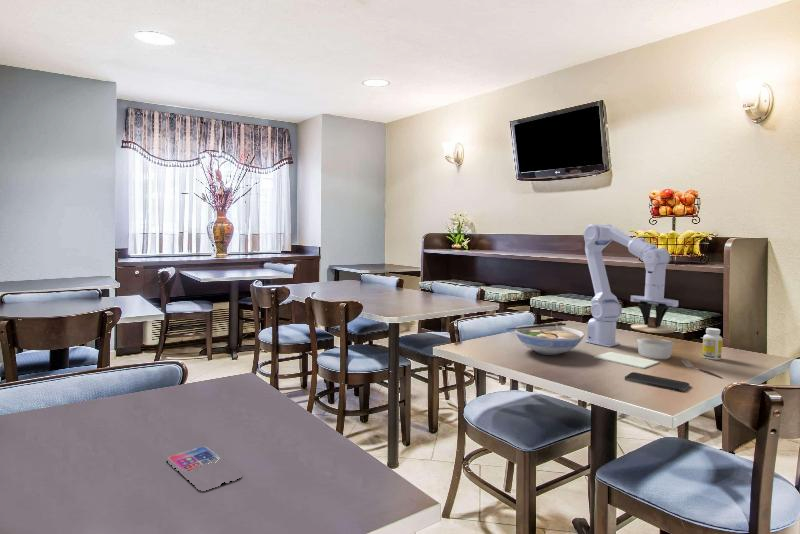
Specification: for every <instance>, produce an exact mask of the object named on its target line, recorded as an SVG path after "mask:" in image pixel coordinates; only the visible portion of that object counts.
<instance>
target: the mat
mask: <svg viewBox="0 0 800 534" xmlns="http://www.w3.org/2000/svg"><path fill="white" fill-rule="evenodd" d="M593 358H594V359H599V360H603V361H607V362H610V363H616V364H621V365H624V366H630V367H632V368H633V367H634V368H638V369H642V370H643V369H646V368H649V367H652V366H654V365H657V364H660V361H657V360H654V359H652V360H651V359H648V358H643V357H637V356H632V355H627V354H624V353H623V354H622V353H619V352H614V351H607V352H605V353H601V354H598V355H594V356H593Z"/></svg>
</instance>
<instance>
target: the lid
mask: <svg viewBox="0 0 800 534" xmlns="http://www.w3.org/2000/svg"><path fill="white" fill-rule="evenodd" d="M630 328H631V329H634V330H636V331H641V332H647V333H654V334H655V333H657V334H670V333H671V334H673V333H674V332H675V330H676V329H675V328H674V327H671V326H668V325H662V324H661V325H660V327H656V316H650V317H648V325H644V322H643V323H641V322H640V323H632V324H631V325H630Z"/></svg>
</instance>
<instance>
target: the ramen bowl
mask: <svg viewBox="0 0 800 534" xmlns="http://www.w3.org/2000/svg"><path fill="white" fill-rule="evenodd" d="M566 325H567V323H563V322H562V321H561V322H554V323H553V322H552V323H543V324H525V325H519V326H516V327H510V328H506V330H514V331H515V334H516V336H517V338H518V339H519V341H520V342H521V343H522V344H523V345H524V346H525V347H526V348H528V349H531V350H532V351H534V352H536V353H538V354H540V355H544V356H556V355H557V356H558V355H560V354H562V353H566V352H569V351H571V350H573V349H575V348H576V347H577V346H578V345H579V344H580V343H581V341H582V340H583V338H584V337H585V333H584V332H583V331H581V330H578V329H576V328H570V327H566Z"/></svg>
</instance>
